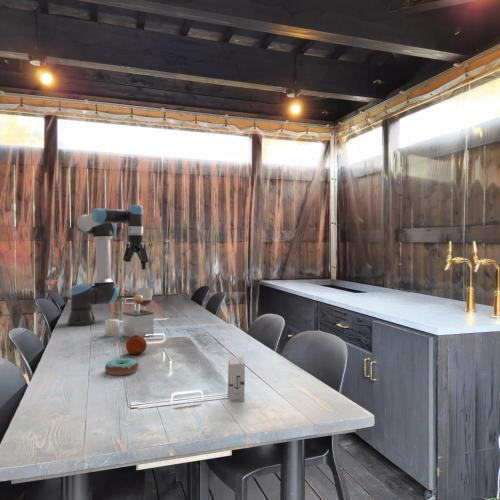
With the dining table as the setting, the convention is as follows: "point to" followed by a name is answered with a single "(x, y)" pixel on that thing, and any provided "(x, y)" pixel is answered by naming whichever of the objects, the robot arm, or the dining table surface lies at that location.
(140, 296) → the gold knobbed rod
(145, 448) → the dining table surface
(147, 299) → the wineglass
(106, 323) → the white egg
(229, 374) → the ink box
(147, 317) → the grey block with hole
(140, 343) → the fruit
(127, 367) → the donut
